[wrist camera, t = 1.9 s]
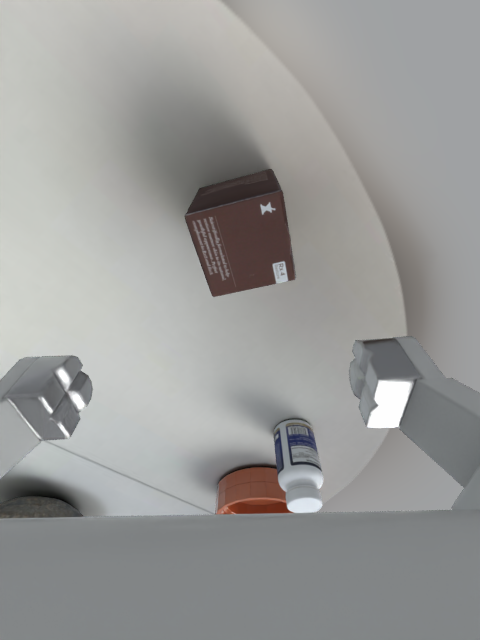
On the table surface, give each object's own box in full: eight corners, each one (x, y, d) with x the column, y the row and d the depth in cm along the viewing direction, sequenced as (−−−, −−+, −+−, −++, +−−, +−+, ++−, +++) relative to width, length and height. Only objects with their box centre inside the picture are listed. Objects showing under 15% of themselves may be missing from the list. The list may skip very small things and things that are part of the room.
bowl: (-39, 483, 51) (-93, 553, 43) (63, 466, 48) (25, 539, 40) (40, 531, 63) (9, 594, 55) (127, 520, 59) (108, 586, 51)
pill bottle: (288, 446, 44) (298, 521, 36) (265, 429, 41) (270, 505, 33) (320, 431, 41) (338, 507, 33) (297, 412, 39) (310, 489, 31)
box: (197, 186, 24) (181, 212, 17) (273, 166, 23) (283, 186, 17) (218, 257, 27) (211, 299, 21) (285, 242, 26) (297, 282, 20)
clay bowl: (303, 462, 46) (309, 496, 42) (300, 504, 54) (305, 536, 50) (212, 465, 47) (209, 498, 43) (223, 506, 55) (221, 538, 51)
